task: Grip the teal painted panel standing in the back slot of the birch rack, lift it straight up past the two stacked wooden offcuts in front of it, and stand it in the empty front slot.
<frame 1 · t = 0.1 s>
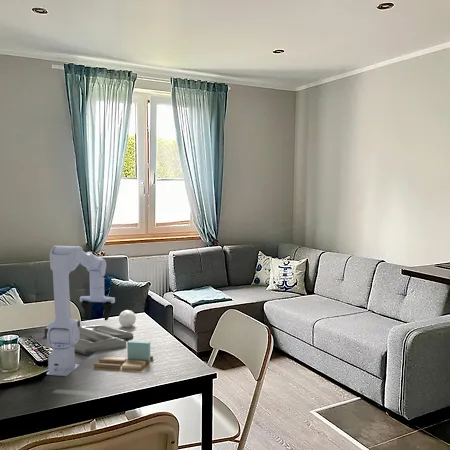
hand: (97, 319, 192), 10 cm above the table, tool pointing down, fingers open, 7 cm apart
rack: (124, 366, 169), on the table
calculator: (63, 332, 209), on the table
oak offcut: (133, 365, 165), point 2 cm above the table, touching walnut offcut
teal panel: (139, 361, 171), point 1 cm above the table, touching rack
geometric ball: (127, 326, 216), on the table
walnut offcut: (133, 367, 165), point 1 cm above the table, touching oak offcut, rack
emblem: (97, 345, 193), on the table
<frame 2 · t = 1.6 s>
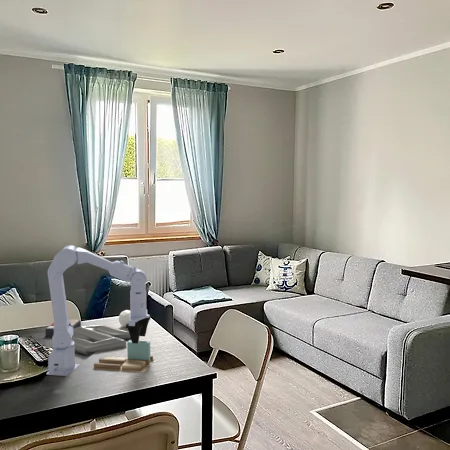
hand: (138, 339, 170), 9 cm above the table, tool pointing down, fingers open, 7 cm apart
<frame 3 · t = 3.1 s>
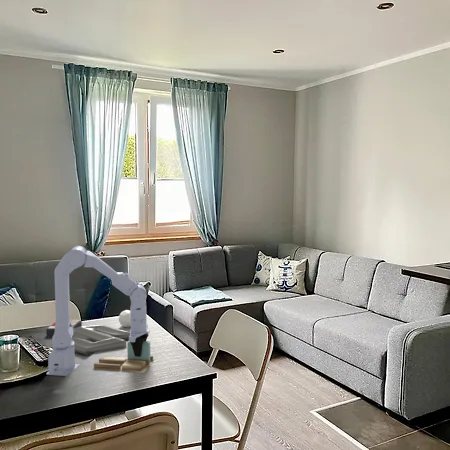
hand: (139, 354, 171), 4 cm above the table, tool pointing down, fingers closed on teal panel, 2 cm apart
teal panel: (139, 361, 171), point 1 cm above the table, touching gripper, rack
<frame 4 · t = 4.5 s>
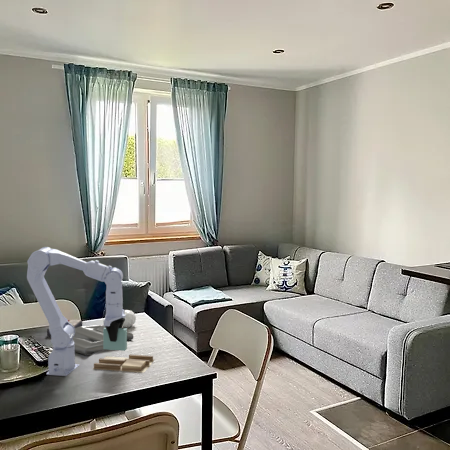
hand: (114, 340, 167), 10 cm above the table, tool pointing down, fingers closed on teal panel
teal panel: (115, 348, 167), point 7 cm above the table, touching gripper
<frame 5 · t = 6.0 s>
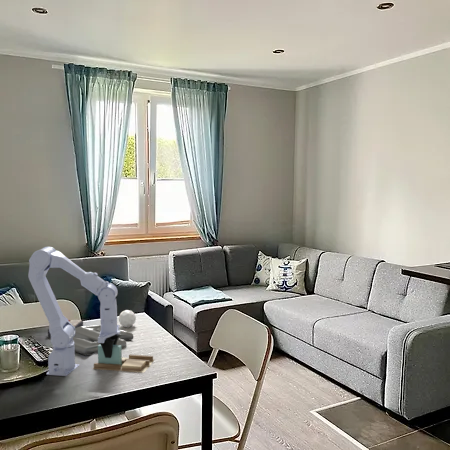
hand: (109, 356, 167), 5 cm above the table, tool pointing down, fingers closed on teal panel, 2 cm apart
teal panel: (110, 365, 167), point 1 cm above the table, touching gripper, rack
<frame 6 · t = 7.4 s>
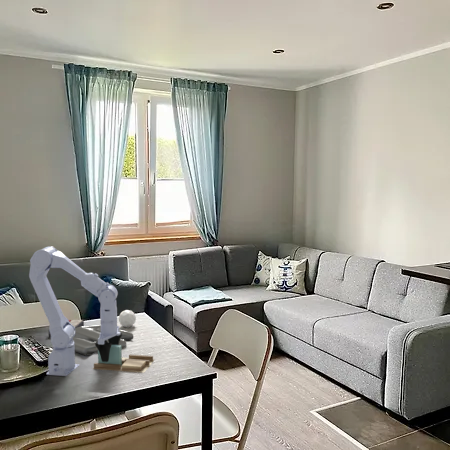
hand: (109, 357, 167), 4 cm above the table, tool pointing down, fingers open, 7 cm apart
teal panel: (110, 365, 167), point 1 cm above the table, touching rack
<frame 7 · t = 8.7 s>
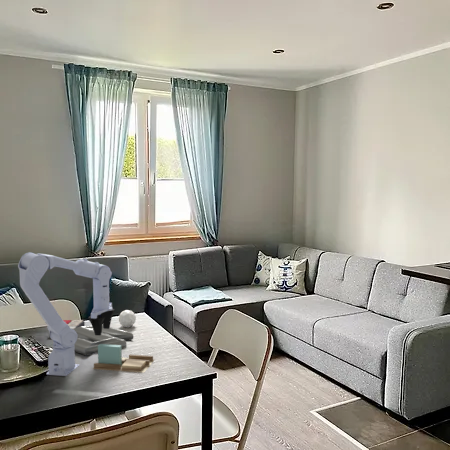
hand: (102, 331, 176), 10 cm above the table, tool pointing down, fingers open, 7 cm apart
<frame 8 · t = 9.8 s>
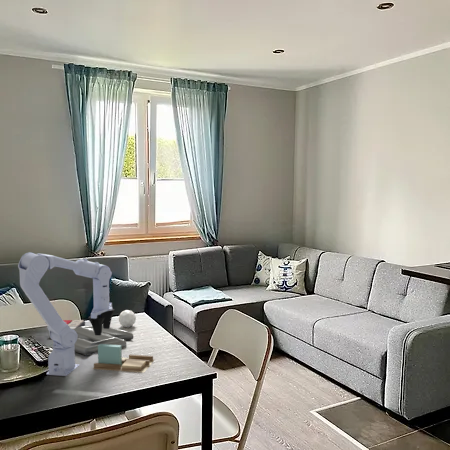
hand: (102, 331, 176), 10 cm above the table, tool pointing down, fingers open, 7 cm apart
at the end: teal panel 0.1 cm from the target spot, point 1.0 cm above the table; teal panel tilted 0°; the gripper is holding nothing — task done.
